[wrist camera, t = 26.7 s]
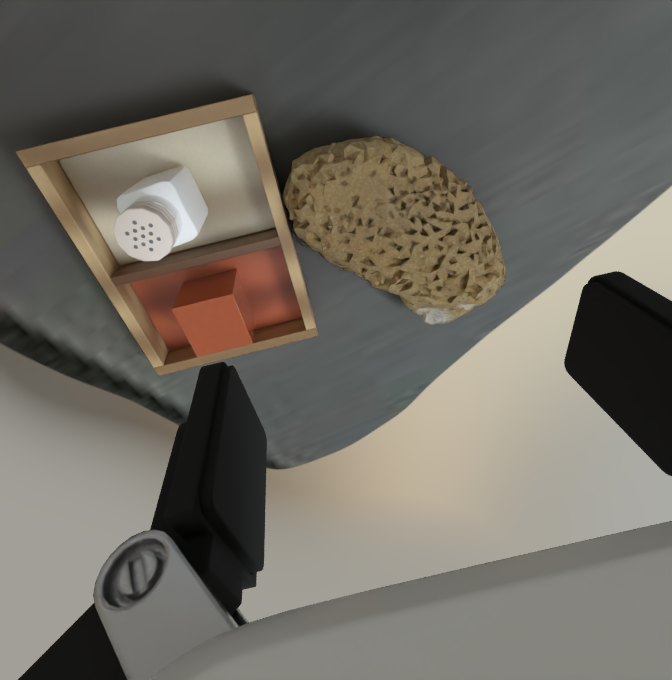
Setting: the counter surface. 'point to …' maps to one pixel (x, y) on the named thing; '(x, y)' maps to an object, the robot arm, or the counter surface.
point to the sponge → (397, 224)
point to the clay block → (215, 313)
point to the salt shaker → (159, 214)
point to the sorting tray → (215, 234)
